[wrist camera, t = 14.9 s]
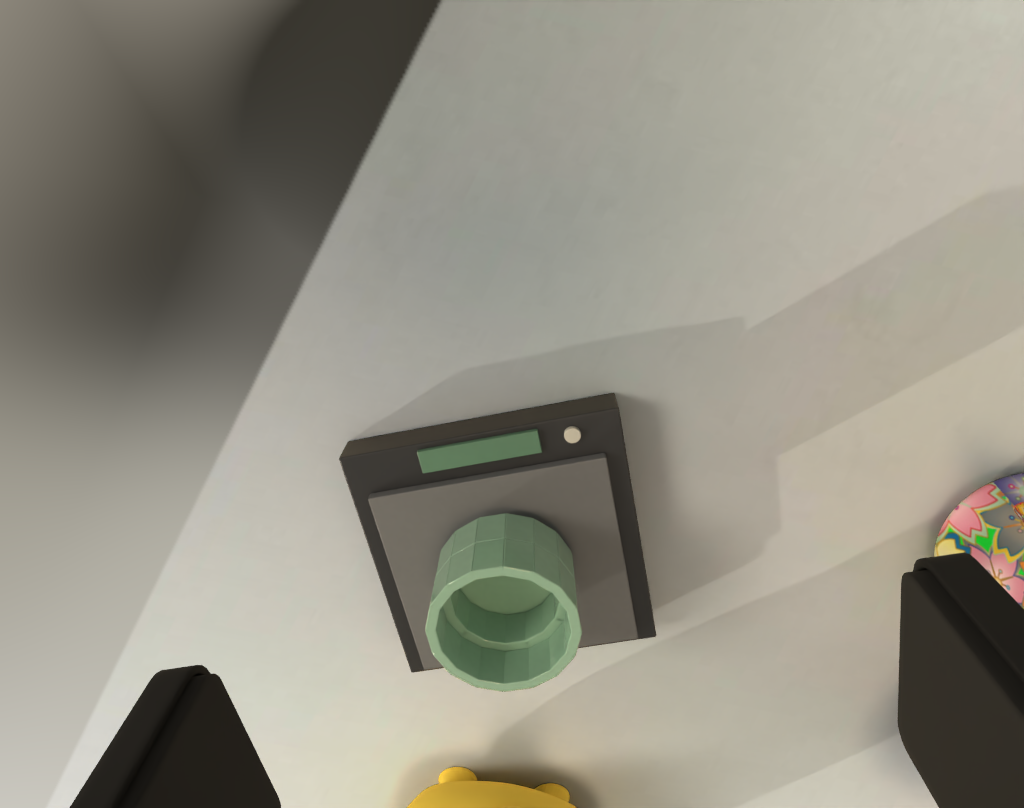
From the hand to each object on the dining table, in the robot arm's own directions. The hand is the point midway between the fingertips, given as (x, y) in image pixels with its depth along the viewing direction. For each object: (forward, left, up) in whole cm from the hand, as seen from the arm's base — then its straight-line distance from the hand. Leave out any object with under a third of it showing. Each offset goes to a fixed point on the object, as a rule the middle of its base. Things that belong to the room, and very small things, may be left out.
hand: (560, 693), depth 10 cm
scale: (+13, -4, -26) cm, 29 cm away
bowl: (+14, -4, -23) cm, 27 cm away
